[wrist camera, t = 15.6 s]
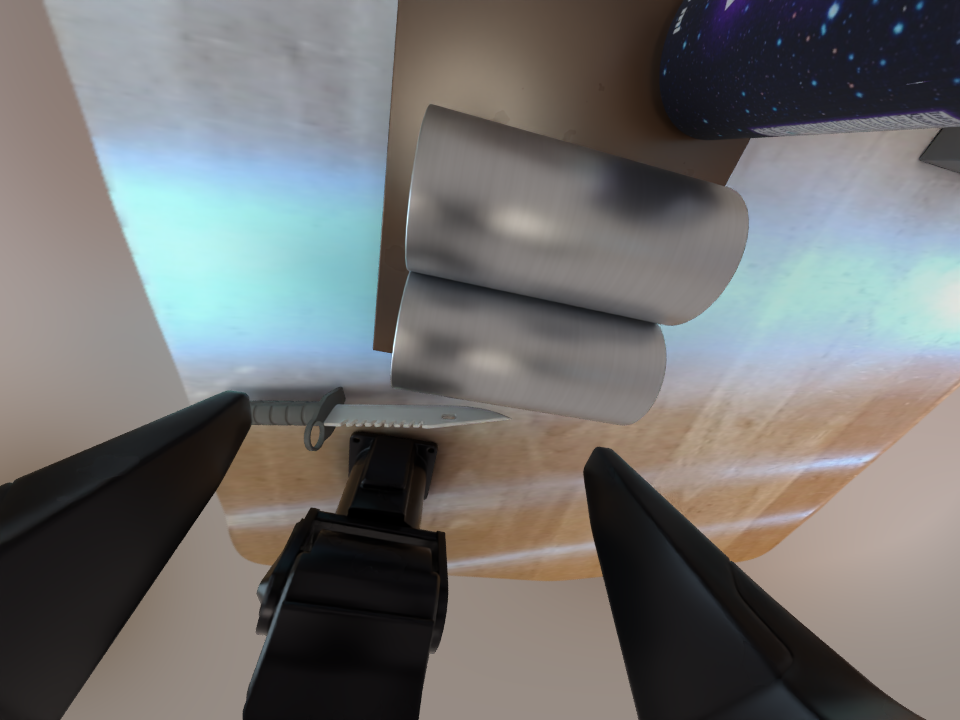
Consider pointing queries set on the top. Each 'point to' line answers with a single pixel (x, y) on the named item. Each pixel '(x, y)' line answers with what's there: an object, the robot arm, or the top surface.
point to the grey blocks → (945, 150)
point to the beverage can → (811, 67)
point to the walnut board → (532, 95)
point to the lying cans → (552, 269)
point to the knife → (361, 415)
